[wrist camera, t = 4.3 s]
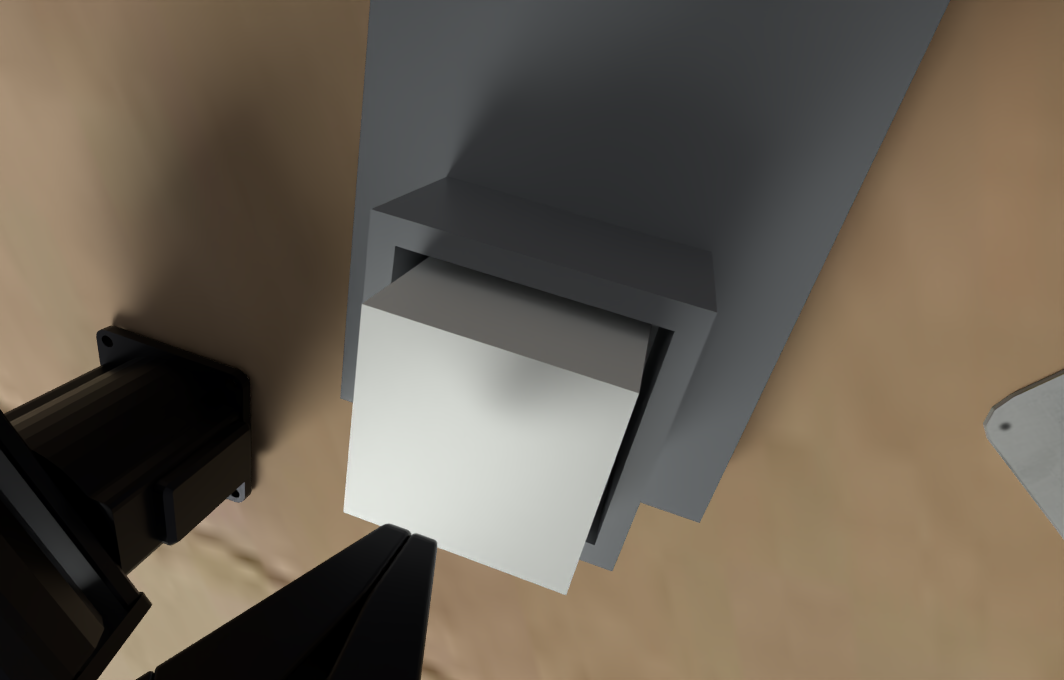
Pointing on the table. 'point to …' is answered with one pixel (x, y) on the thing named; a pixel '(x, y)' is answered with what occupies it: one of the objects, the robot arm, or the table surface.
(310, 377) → the table surface
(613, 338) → the key white
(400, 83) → the key panel
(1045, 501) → the emergency button
